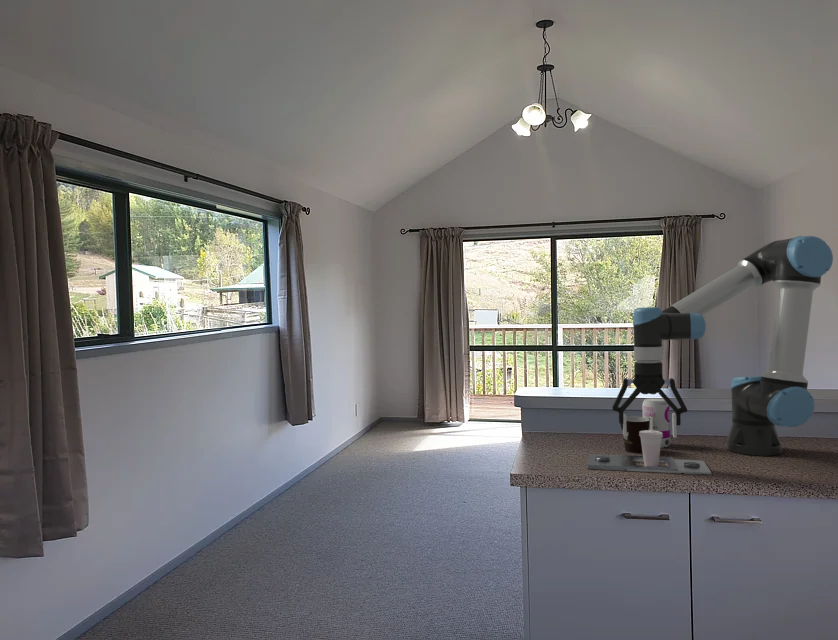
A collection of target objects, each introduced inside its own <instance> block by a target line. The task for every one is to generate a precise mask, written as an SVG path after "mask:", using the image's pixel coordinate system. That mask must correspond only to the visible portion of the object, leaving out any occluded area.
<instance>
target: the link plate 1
mask: <svg viewBox="0 0 838 640" xmlns="http://www.w3.org/2000/svg"><path fill="white" fill-rule="evenodd" d="M633 459H636V460H644V459H643V455H626V454H625V455H623V454H600V453H599V454H598V453H589V454H588V458H587V462H588V463H587V470H600V471H601V470H602V471H622V472H623V471H624V472H626V469H643V470H664V471H678V468H677V465H676V463H675V461H674V459H675V458H674V457H673V456H659V460H660V461H666V463H667V465H666V466H663V465H662V466H661V465H658V466H644V465H641V464H640V465H637V464H635V463H634V462H635V461H633ZM666 463H665V464H666ZM667 466H668V467H667Z"/></svg>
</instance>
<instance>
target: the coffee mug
mask: <svg viewBox="0 0 838 640" xmlns="http://www.w3.org/2000/svg"><path fill="white" fill-rule="evenodd" d="M649 422H650V419H648V418H644V417H643V416H626V433H627V436H624V434H623V433H622V436H623V444H624V451H625V452H628V453H633V454H641V453H642V454H643V452H642V445H641V437H640V436H639V432H640V431H644V430H649ZM620 428H621V430H622V432H623V424H620Z"/></svg>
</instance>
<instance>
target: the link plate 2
mask: <svg viewBox="0 0 838 640" xmlns="http://www.w3.org/2000/svg"><path fill="white" fill-rule="evenodd" d="M673 459H674V461H675V463H676V465H677V468H678V471H664V470H643V469H625V472H626V471H627V472H642V473H663V474H664V473H665V474H681V473H684V474H686V475H702V474H707V475H706V476H712V475H713V474H712V471H711V470H710V468H709V467H708V466H707V463H706V462H705V460H695V459H675V458H673ZM633 462H636V463H637V462H641V463H642V462H643V463H644V460H636V459H633ZM663 463H664V464H665V465H666V467H668V466H667V463H666V461H660V460H659V464H663Z"/></svg>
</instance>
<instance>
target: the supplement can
mask: <svg viewBox="0 0 838 640" xmlns="http://www.w3.org/2000/svg"><path fill="white" fill-rule="evenodd" d="M641 405H642V409H641V410H642V417H644V418H648V419H650V417H653V431H659V432H662V433H663V437H662V439H661V448H662V449H663V448H664V447H665V448H667V447H669V446H670V445H671V417H670V415H671V414H670V413H671V412H670V411H671V410H670V408H671V407H670V406H669V405H668V403H667V402H666V401H665V400H664V399H663V398H662V397H661V398H660V397H648V398H644V400H643V402H642V403H641ZM649 430H651V422H649ZM661 448H660V449H661Z"/></svg>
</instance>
